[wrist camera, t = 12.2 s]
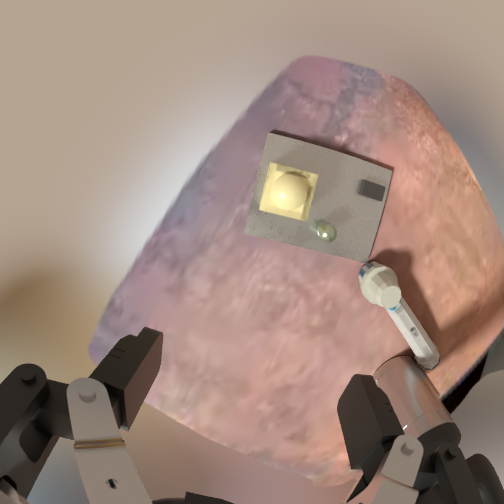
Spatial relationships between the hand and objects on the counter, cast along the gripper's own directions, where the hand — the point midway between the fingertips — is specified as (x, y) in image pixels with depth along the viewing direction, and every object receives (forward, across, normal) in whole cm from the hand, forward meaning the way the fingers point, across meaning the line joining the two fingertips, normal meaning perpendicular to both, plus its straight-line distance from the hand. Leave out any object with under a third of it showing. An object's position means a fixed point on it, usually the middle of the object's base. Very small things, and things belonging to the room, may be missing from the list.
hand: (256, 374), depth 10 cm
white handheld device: (+27, -25, +7) cm, 38 cm away
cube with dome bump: (+25, -1, -7) cm, 26 cm away
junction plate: (+26, -6, -7) cm, 28 cm away
